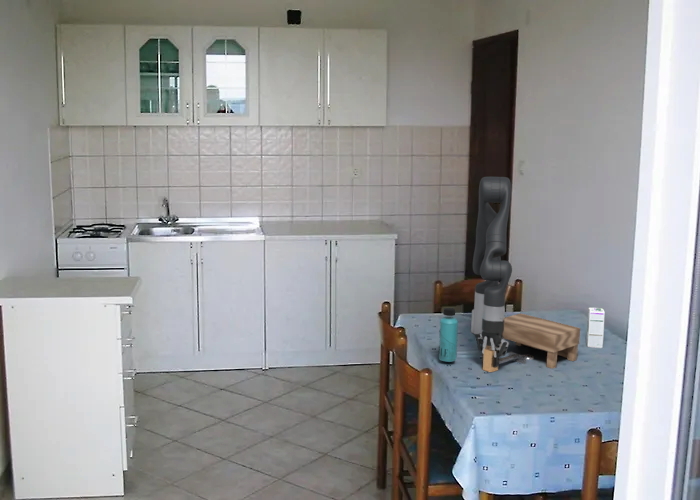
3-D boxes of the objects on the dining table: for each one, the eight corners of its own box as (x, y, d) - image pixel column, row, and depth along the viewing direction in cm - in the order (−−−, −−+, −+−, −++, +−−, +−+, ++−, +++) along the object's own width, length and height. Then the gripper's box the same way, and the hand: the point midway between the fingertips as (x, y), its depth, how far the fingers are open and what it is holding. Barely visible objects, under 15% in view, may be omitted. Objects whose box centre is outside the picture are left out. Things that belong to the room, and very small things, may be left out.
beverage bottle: (458, 361, 279) (460, 307, 275) (454, 366, 273) (456, 311, 269) (440, 359, 281) (442, 305, 277) (436, 364, 275) (438, 309, 271)
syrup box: (602, 348, 298) (605, 311, 295) (586, 347, 299) (589, 310, 296) (601, 344, 303) (604, 308, 300) (585, 342, 304) (588, 306, 302)
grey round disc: (519, 359, 284) (519, 356, 284) (524, 356, 287) (524, 353, 287) (530, 361, 281) (530, 358, 281) (535, 358, 285) (536, 356, 284)
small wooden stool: (518, 343, 302) (520, 313, 300) (577, 360, 283) (580, 328, 281) (493, 351, 291) (494, 320, 289) (552, 369, 272) (554, 336, 270)
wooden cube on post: (494, 373, 266) (496, 352, 265) (478, 368, 271) (479, 347, 270) (526, 363, 278) (527, 343, 277) (510, 358, 283) (511, 338, 282)
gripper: (470, 314, 269) (467, 362, 272) (503, 323, 259) (500, 373, 262) (483, 311, 274) (481, 358, 277) (516, 320, 264) (513, 368, 267)
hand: (490, 365), depth 270 cm, fingers closed on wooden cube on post, 3 cm apart
